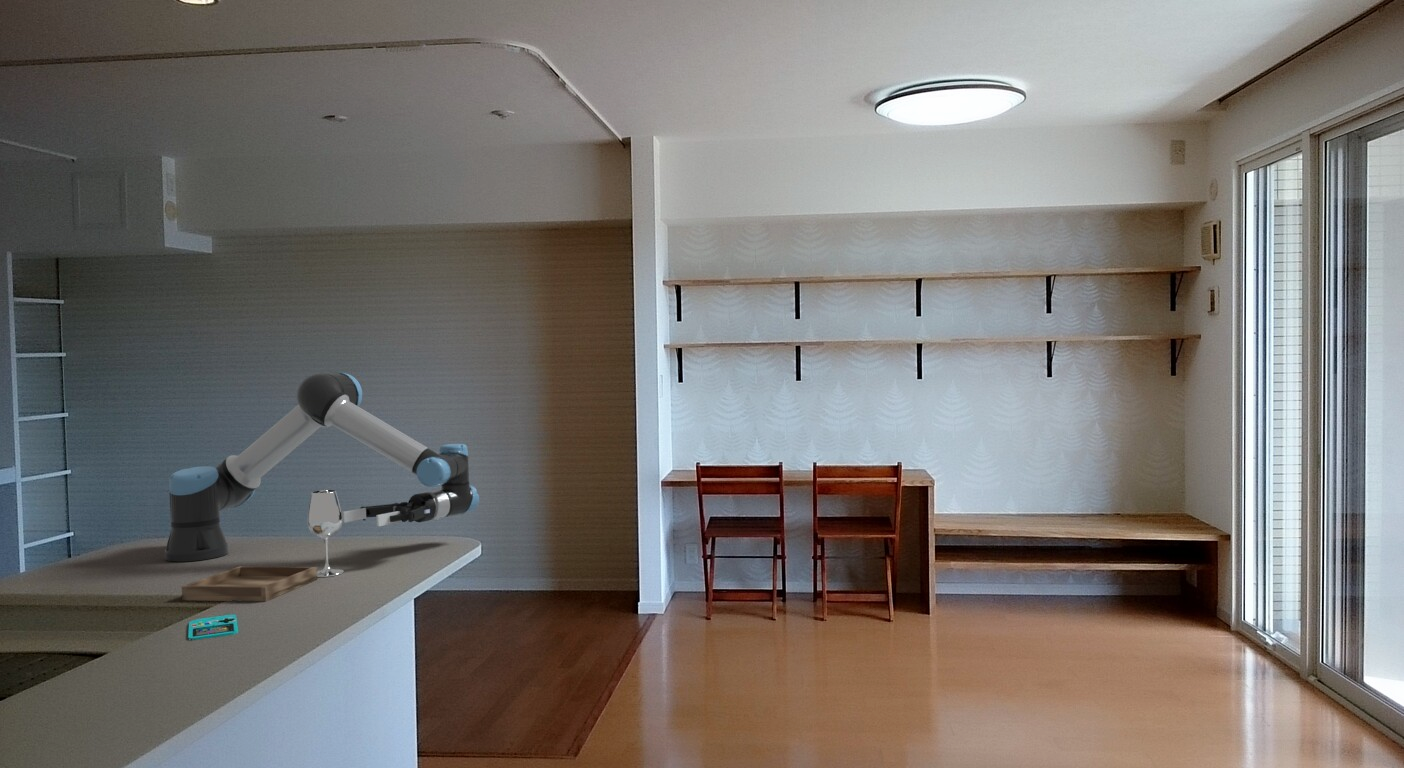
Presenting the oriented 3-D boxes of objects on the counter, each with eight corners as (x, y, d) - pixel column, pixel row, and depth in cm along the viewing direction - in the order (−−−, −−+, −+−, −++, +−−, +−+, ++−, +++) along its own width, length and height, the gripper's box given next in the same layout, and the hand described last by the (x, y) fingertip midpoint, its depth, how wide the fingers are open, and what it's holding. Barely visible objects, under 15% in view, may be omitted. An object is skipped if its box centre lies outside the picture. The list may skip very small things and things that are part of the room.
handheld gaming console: (235, 612, 199) (238, 630, 185) (236, 617, 199) (238, 635, 185) (189, 618, 195) (188, 637, 182) (189, 624, 195) (188, 643, 182)
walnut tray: (240, 578, 233) (239, 566, 233) (317, 579, 230) (316, 567, 230) (182, 600, 214) (181, 586, 213) (265, 601, 210) (265, 587, 210)
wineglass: (332, 577, 231) (329, 493, 231) (302, 577, 233) (299, 493, 232) (350, 570, 239) (347, 489, 238) (321, 570, 241) (318, 489, 240)
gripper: (460, 523, 254) (393, 537, 237) (398, 517, 268) (330, 530, 251) (459, 494, 254) (391, 506, 237) (397, 490, 268) (329, 501, 251)
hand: (360, 519), depth 244 cm, fingers open, 13 cm apart
